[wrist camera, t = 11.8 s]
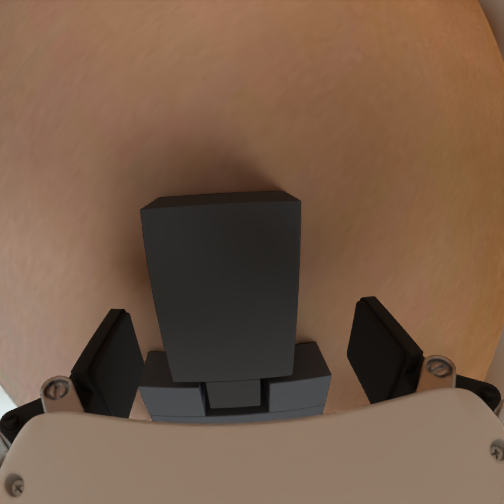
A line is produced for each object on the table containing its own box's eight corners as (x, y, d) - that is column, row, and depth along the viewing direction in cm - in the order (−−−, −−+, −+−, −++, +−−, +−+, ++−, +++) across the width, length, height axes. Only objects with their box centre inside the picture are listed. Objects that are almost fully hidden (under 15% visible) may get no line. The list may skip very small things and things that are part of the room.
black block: (284, 190, 15) (301, 200, 12) (280, 367, 19) (289, 402, 16) (158, 197, 15) (139, 209, 11) (185, 372, 19) (181, 408, 15)
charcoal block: (316, 341, 19) (332, 375, 15) (303, 421, 22) (312, 451, 19) (148, 351, 18) (137, 386, 14) (175, 429, 21) (172, 460, 18)
